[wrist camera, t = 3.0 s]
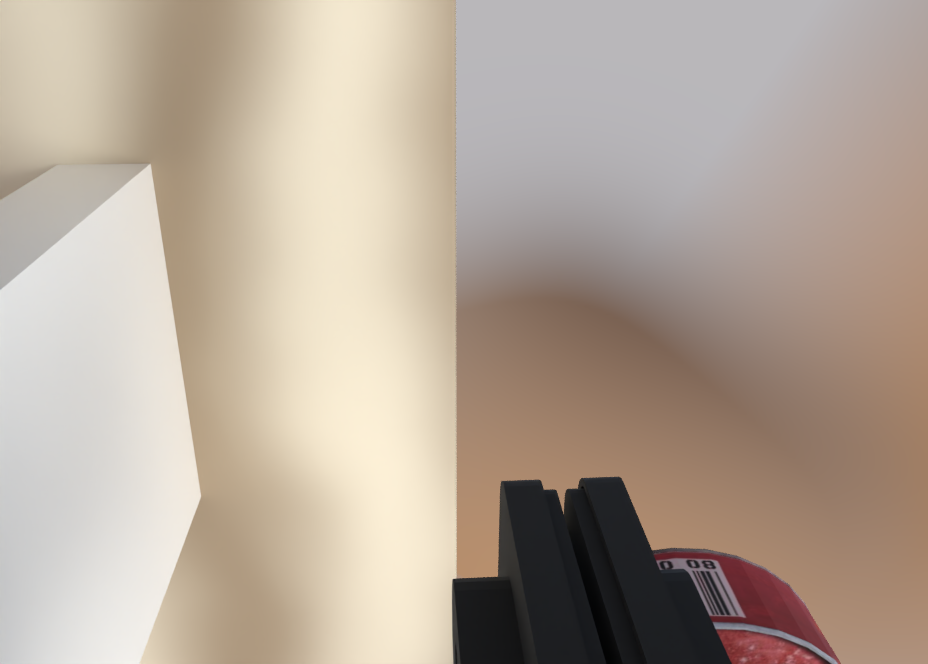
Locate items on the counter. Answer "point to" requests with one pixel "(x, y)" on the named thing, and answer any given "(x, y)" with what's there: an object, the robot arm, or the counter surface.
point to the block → (88, 418)
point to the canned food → (751, 609)
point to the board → (282, 297)
